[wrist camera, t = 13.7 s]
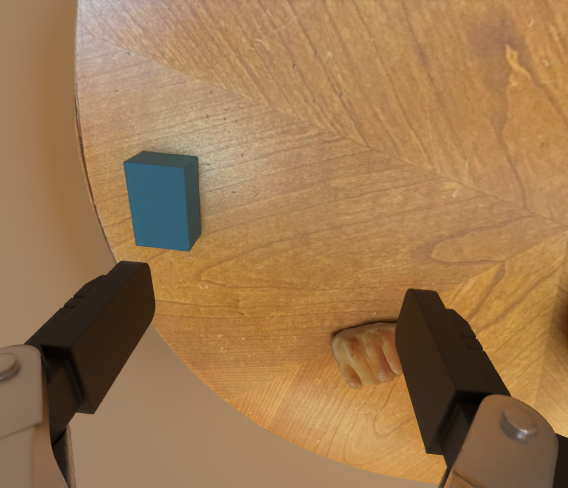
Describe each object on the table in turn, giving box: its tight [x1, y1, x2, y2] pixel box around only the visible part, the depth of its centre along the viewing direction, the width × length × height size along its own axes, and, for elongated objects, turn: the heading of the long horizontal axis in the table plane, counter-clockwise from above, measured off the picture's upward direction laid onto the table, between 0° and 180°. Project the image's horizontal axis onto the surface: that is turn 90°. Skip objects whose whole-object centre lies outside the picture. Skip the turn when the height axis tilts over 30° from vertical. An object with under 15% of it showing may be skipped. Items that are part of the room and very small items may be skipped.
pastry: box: [331, 322, 403, 389], centre depth 33 cm, size 9×7×4 cm
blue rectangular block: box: [123, 151, 201, 251], centre depth 27 cm, size 7×4×3 cm, turn 175°
